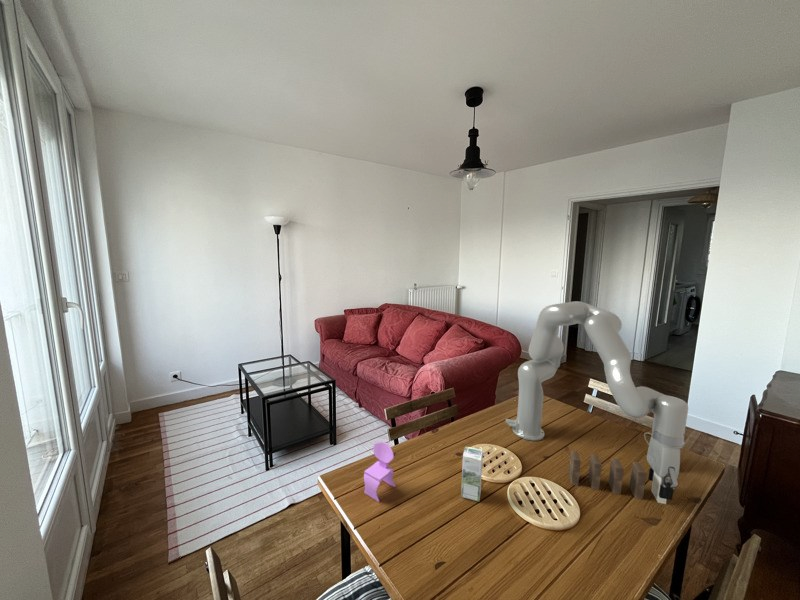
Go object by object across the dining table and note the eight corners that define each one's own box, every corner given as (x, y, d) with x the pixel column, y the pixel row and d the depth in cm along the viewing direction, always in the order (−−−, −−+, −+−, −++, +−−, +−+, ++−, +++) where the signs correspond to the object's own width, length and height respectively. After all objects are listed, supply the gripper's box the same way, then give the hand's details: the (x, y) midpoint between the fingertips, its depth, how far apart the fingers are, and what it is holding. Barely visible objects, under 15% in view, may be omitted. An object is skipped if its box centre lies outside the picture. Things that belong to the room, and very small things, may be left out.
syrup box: (481, 489, 104) (483, 448, 102) (479, 503, 99) (481, 459, 97) (463, 485, 106) (465, 444, 104) (460, 498, 101) (462, 455, 99)
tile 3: (591, 488, 105) (594, 463, 104) (588, 478, 110) (590, 454, 109) (598, 490, 105) (601, 464, 103) (594, 479, 110) (597, 455, 108)
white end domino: (657, 502, 100) (661, 476, 99) (651, 490, 105) (654, 465, 103) (665, 504, 99) (669, 477, 98) (658, 492, 104) (662, 467, 103)
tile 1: (635, 497, 102) (638, 471, 100) (629, 486, 107) (632, 461, 105) (642, 499, 101) (646, 473, 100) (636, 488, 106) (639, 463, 105)
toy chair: (360, 492, 103) (360, 448, 101) (378, 477, 110) (378, 436, 108) (380, 504, 98) (380, 459, 96) (398, 488, 105) (398, 445, 103)
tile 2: (613, 493, 104) (616, 467, 102) (608, 482, 108) (611, 457, 107) (620, 494, 103) (623, 469, 102) (615, 483, 108) (618, 459, 106)
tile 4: (571, 484, 107) (573, 459, 106) (568, 474, 112) (571, 450, 111) (578, 485, 107) (580, 460, 105) (575, 475, 112) (577, 451, 110)
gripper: (641, 420, 108) (635, 469, 111) (665, 450, 92) (657, 506, 94) (668, 424, 106) (661, 474, 108) (697, 456, 89) (688, 513, 92)
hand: (659, 488), depth 101 cm, fingers open, 7 cm apart
